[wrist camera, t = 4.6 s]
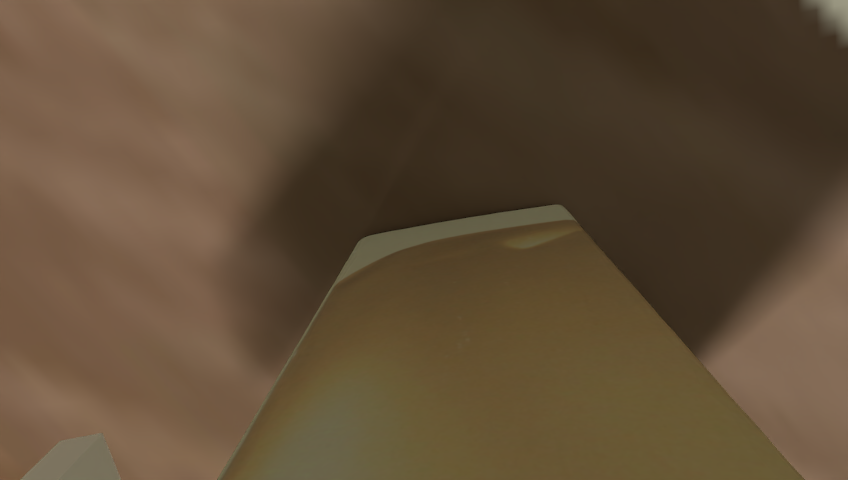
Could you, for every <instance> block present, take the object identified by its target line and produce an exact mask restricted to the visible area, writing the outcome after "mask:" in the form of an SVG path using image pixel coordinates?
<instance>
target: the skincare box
mask: <svg viewBox="0 0 848 480" xmlns="http://www.w3.org/2000/svg"><path fill="white" fill-rule="evenodd" d="M217 480H805V479H804V478H803V477H802V476H801V475H800V474H799V473H798V472H797V471H796V470H795V469H794V468H793V467H792V465H791V464H790V463H789V462H788V461H787V460H786V459H785V458H784V456H783V455H782V454H781V453H780V452H779V451H778V450H777V448H776V447H775V446H774V445H773V444H772V443H771V441H770V440H769V439H768V438H767V437H766V436H765V434H764V433H763V432H762V431H761V430H760V428H759V427H758V426H757V425H756V424H755V423H754V422H753V421H752V420H751V419H750V418H749V416H748V415H747V414H746V413H745V412H744V411H743V410H742V409H741V408H740V407H739V406H738V404H737V403H736V402H735V401H734V400H733V399H732V398H731V397H730V396H729V394H728V393H727V392H726V391H725V390H724V389H723V387H722V386H721V385H720V384H719V383H718V382H717V380H716V379H715V378H714V377H713V376H712V375H711V374H710V372H709V371H708V370H707V369H706V368H705V367H704V366H703V364H702V363H701V362H700V361H699V360H698V359H697V358H696V356H695V355H694V354H693V353H692V352H691V351H690V350H689V348H688V347H687V346H686V345H685V344H684V343H683V342H682V340H681V339H680V338H679V337H678V336H677V335H676V333H675V332H674V331H673V330H672V329H671V328H670V327H669V326H668V325H667V324H666V322H665V321H664V320H663V319H662V318H661V317H660V316H659V315H658V314H657V312H656V311H655V310H654V309H653V307H652V306H651V305H650V304H649V303H648V302H647V301H646V299H645V298H644V297H643V296H642V295H641V294H640V292H639V291H638V290H637V289H636V288H635V287H634V286H633V285H632V284H631V283H630V281H629V280H628V279H627V278H626V277H625V276H624V275H623V274H622V272H621V271H620V270H619V269H618V268H617V267H616V266H615V265H614V264H613V262H612V261H611V260H610V259H609V258H608V257H607V256H606V255H605V253H604V252H603V251H602V250H601V249H600V248H599V247H598V246H597V244H596V243H595V242H594V241H593V240H592V238H591V237H590V236H589V235H588V234H587V233H586V232H585V230H584V229H583V228H582V227H581V226H580V225H579V224H578V222H577V221H576V220H575V218H574V217H573V216H572V215H571V214H570V213H569V212H568V211H567V210H566V208H565V207H563V206H562V205H549V206H542V207H535V208H528V209H521V210H514V211H507V212H500V213H494V214H489V215H482V216H475V217H469V218H463V219H457V220H451V221H445V222H439V223H434V224H428V225H423V226H417V227H412V228H406V229H401V230H395V231H390V232H384V233H379V234H375V235H370V236H366V237H364V238H362V239H361V240H360V241H358V243H357V245H356V247H355V248H354V250H353V252H352V253H351V255H350V257H349V258H348V260H347V262H346V263H345V265H344V267H343V268H342V270H341V272H340V273H339V275H338V277H337V279H336V280H335V282H334V284H333V286H332V287H331V289H330V290H329V292H328V294H327V295H326V297H325V299H324V300H323V302H322V304H321V305H320V307H319V309H318V311H317V312H316V314H315V316H314V317H313V319H312V321H311V322H310V324H309V326H308V328H307V329H306V331H305V333H304V335H303V336H302V338H301V340H300V341H299V343H298V344H297V346H296V348H295V349H294V351H293V352H292V354H291V356H290V358H289V359H288V361H287V363H286V364H285V366H284V368H283V369H282V371H281V373H280V374H279V376H278V378H277V379H276V381H275V383H274V385H273V386H272V388H271V390H270V392H269V393H268V395H267V397H266V398H265V400H264V402H263V403H262V405H261V407H260V409H259V410H258V412H257V414H256V415H255V417H254V419H253V421H252V422H251V424H250V426H249V427H248V429H247V431H246V432H245V434H244V436H243V437H242V439H241V441H240V442H239V444H238V446H237V447H236V449H235V451H234V452H233V454H232V456H231V457H230V459H229V461H228V462H227V464H226V466H225V467H224V469H223V471H222V472H221V474H220V476H219V478H218V479H217Z"/></svg>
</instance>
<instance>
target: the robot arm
mask: <svg viewBox="0 0 848 480" xmlns="http://www.w3.org/2000/svg"><path fill="white" fill-rule="evenodd" d="M21 480H121V478H120V476H119V473H118V471H117V468H116V466H115V463H114V461H113V458H112V456H111V453H110V451H109V448H108V446H107V443H106V441H105V438H104V436H103V433H99V434H94V435H89V436H84V437H78V438H73V439H68V440H63V441H60V442H59V443H58V444H57V445H55V446H54V447H53V448H52V449H51V450H50V451H49V452H48V453H47V454H46V455H45V456H44V457H43V458H42V459H41V460H40V461H39V462H38V463H37V464H36V465H35V466H34V467H33V468H32V469H31V470H30V471H29V472H28V473H27V474H26V475H25V476H24V477H23V478H22V479H21Z"/></svg>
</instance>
